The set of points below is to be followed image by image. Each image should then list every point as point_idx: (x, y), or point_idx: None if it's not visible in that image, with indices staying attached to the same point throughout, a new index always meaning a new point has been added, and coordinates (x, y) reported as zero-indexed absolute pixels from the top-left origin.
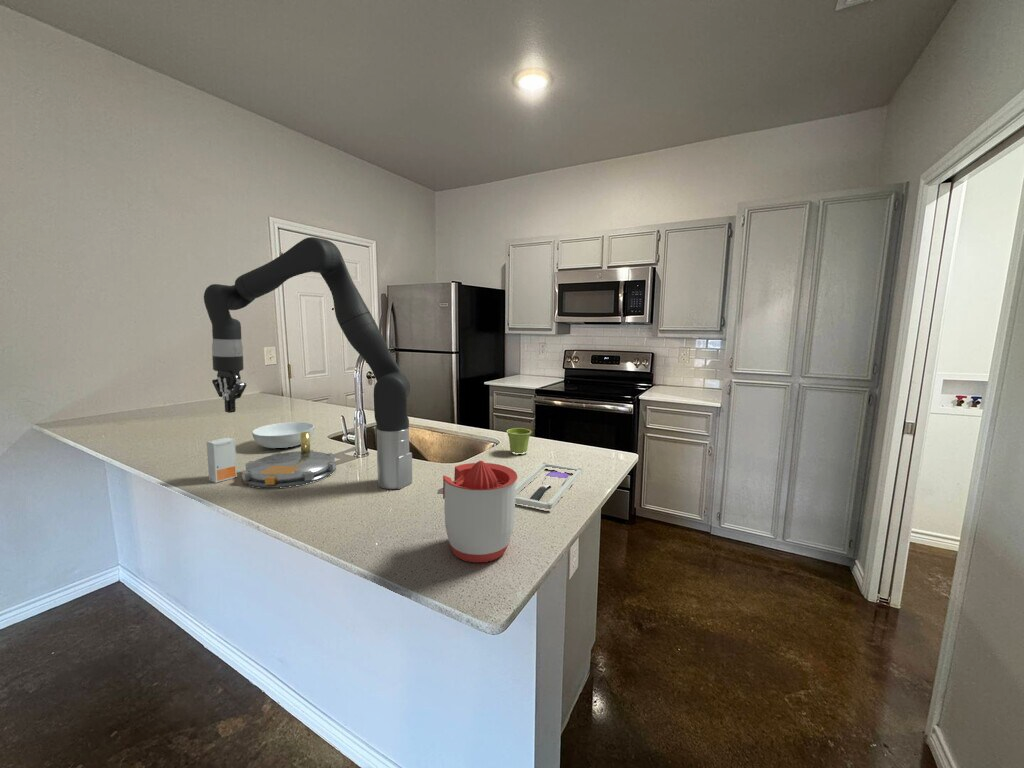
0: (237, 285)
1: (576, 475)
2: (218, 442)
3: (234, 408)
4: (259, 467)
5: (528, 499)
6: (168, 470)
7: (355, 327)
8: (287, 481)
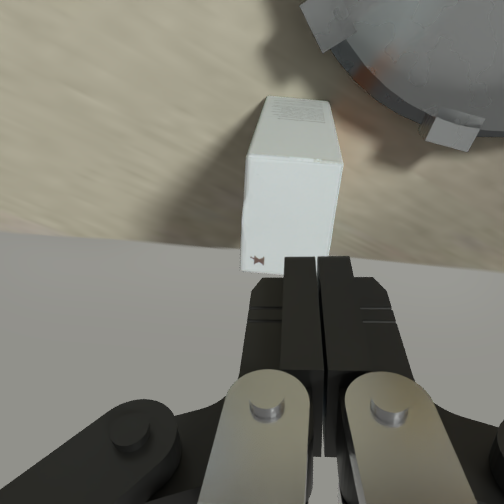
0: None
1: None
2: (319, 252)
3: (386, 307)
4: (455, 48)
5: None
6: (18, 195)
7: None
8: None
